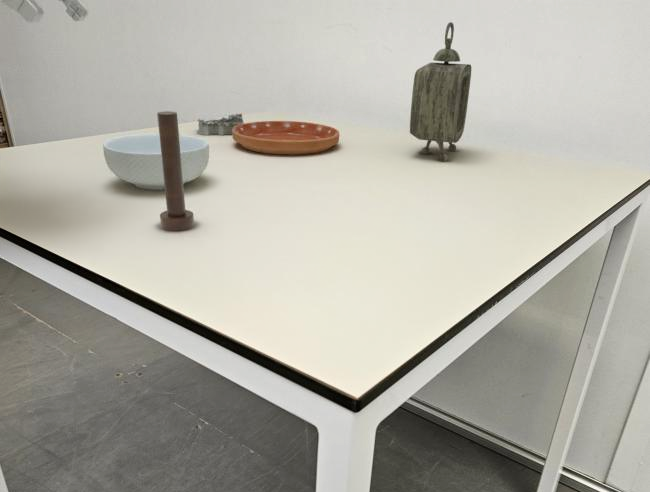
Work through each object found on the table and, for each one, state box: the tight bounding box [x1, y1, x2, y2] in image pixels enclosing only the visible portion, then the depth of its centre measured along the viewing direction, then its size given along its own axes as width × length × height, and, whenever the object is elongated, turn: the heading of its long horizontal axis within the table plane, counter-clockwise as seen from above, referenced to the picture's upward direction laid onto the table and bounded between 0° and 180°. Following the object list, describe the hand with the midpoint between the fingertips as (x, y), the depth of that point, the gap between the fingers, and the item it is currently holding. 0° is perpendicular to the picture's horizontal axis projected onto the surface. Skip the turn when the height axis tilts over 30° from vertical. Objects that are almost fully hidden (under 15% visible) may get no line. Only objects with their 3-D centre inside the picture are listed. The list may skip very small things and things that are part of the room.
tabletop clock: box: [409, 21, 472, 162], centre depth 120 cm, size 14×9×25 cm, turn 160°
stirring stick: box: [156, 110, 195, 233], centre depth 78 cm, size 4×4×15 cm
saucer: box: [231, 120, 340, 156], centre depth 130 cm, size 23×23×4 cm
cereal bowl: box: [102, 133, 210, 191], centre depth 99 cm, size 17×17×7 cm
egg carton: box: [197, 113, 245, 136], centre depth 141 cm, size 11×8×4 cm
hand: (61, 17), depth 72 cm, fingers open, 8 cm apart
